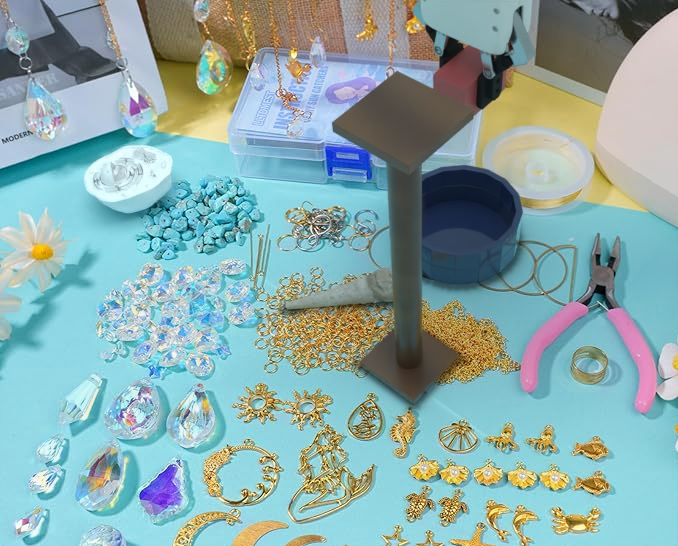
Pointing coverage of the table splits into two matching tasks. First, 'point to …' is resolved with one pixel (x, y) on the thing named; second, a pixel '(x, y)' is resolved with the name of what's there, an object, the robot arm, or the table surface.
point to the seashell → (351, 292)
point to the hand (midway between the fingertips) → (469, 90)
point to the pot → (468, 224)
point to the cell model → (130, 178)
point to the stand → (405, 216)
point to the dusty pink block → (462, 77)
